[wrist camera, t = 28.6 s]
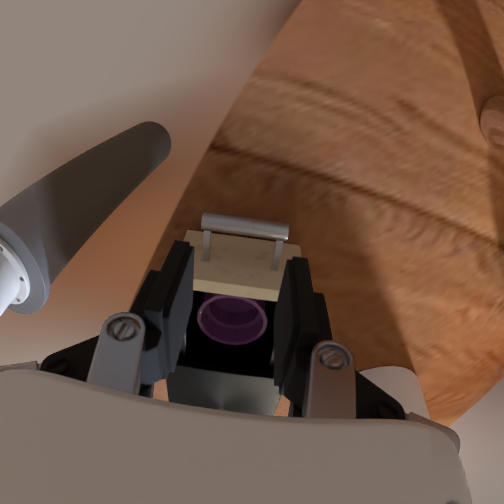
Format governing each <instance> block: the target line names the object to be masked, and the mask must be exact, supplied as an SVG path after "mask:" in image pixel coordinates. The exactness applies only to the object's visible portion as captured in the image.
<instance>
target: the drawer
mask: <svg viewBox="0 0 504 504" xmlns="http://www.w3.org/2000/svg"><path fill="white" fill-rule="evenodd" d="M201 229H203V230H204V232H200V231H193V230H187V233H186V235H185V237H184V239H183V241H186V242H190V246H194V247H195V252H194V279H193V303H192V309H191V312H190V316H189V319H188V323H187V327H186V330H185V334H184V337H183V341H182V345H181V348H180V352H179V360H182V361H188V362H194V363H201V364H207V365H214V366H221V367H228V368H236V369H244V370H253V371H262V372H272V373H274V313H275V308H276V304H277V300H278V295H279V291H280V287H281V283H282V278H283V274H284V270H285V265H286V261H287V259H290V260H292V257H293V256H295V257H301V251H300V245H294V244H287V243H283V242H284V241H286V240H287V238H288V234H289V223H287V222H280V221H273V220H266V219H259V218H252V217H245V216H238V215H230V214H223V213H215V212H207V211H204V212H203V215H202V220H201ZM212 231H218V232H225V233H233V234H240V235H247V236H254V237H262V238H269V239H276V242H273V241H266V240H259V239H252V238H244V237H237V236H230V235H222V234H215V233H212ZM203 292H210V293H217V294H224V295H231V296H238V297H246V298H253V299H261V300H268V322H267V327H266V330H265V332H264V333H263V334H262V335H261V336H260V337H259V338H258V339H256V340H254V341H252V342H250V343H248V344H241V345H230V344H223V343H220V342H218V341H215V340H213V339H211V338H210V337H208V336H207V335H206V334H205V333H204V332H203V331H202V330H201V328H200V326H199V324H198V322H197V311H198V308H199V304H200V300H201V296H202V293H203Z"/></svg>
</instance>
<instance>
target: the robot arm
mask: <svg viewBox="0 0 504 504" xmlns="http://www.w3.org/2000/svg"><path fill="white" fill-rule="evenodd" d="M194 252H195V247H194V246H190V242H186V241H179V240H175V242H174V244H173V246H172V248H171V250H170V252H169V254H168V256H167V258H166V260H165V262H164V264H163V266H162V269H161V271H155V270H150V272H149V273H148V275H147V277H146V279H145V281H144V283H143V285H142V287H141V289H140V291H139V293H138V295H137V297H136V299H135V301H134V303H133V305H132V307H131V309H130V311H129V313H128V312H121V313H117V314H114V315H112V316H110V317H109V318H108V319H107V320H106V321H105V322H104V324H103V326H102V329H101V332H100V335H98V336H96V337H93V338H91V339H89V340H86V341H83V342H81V343H79V344H76V345H73V346H71V347H68V348H66V349H63V350H61V351H58V352H56V353H53V354H51V355H49V356H48V357H46V359H44V360H43V362H42V363H41V364H38V363H37V361H32V362H26V363H19V364H12V365H5V366H0V504H472V500H471V495H470V491H469V487H468V482H467V479H466V475H465V471H464V468H463V465H462V462H461V459H460V456H459V449H460V439H459V437H458V435H457V434H456V432H455V431H454V430H452V429H450V428H448V427H446V426H443V425H441V424H439V423H436V422H434V421H431V420H429V419H427V418H424V417H422V416H420V415H418V414H415V413H413V412H410V413H409V414H407V413H405V411H404V409H403V407H402V405H401V404H400V403H399V402H398V401H397V400H396V399H394V398H393V397H392V396H390V395H389V394H387V393H386V392H385V391H383V390H382V389H381V388H379V387H378V386H377V385H375V384H374V383H372V382H371V381H370V380H368V379H367V378H366V377H364V376H363V375H362V374H360V373H359V372H358V371H356V370H355V359H354V355H353V353H352V351H351V350H350V349H349V348H348V347H347V346H346V345H344V344H342V343H340V342H337V341H334V340H333V339H332V333H331V328H330V323H329V317H328V312H327V307H326V302H325V297H324V294H323V293H316V292H313V287H312V281H311V275H310V270H309V264H308V259H307V258H302V257H295V256H293V257H292V260H290V259H287V261H286V265H285V270H284V274H283V278H282V283H281V287H280V291H279V295H278V300H277V304H276V308H275V313H274V386H279V395H284V396H285V397H286V398H287V399H288V400H290V401H291V403H290V407H289V414H288V417H283V416H270V415H259V414H248V413H239V412H231V411H223V410H216V409H209V408H202V407H196V406H190V405H184V404H178V403H173V402H167V401H162V400H157V399H153V390H154V383H155V382H157V381H159V380H161V379H166V380H167V378H168V374H169V372H174V371H175V367H176V363H177V360H178V356H179V352H180V348H181V345H182V341H183V337H184V334H185V330H186V327H187V323H188V319H189V316H190V312H191V309H192V303H193V279H194ZM29 292H30V281H29V277H28V274H27V271H26V269H25V267H24V265H23V263H22V261H21V259H20V258H19V256H18V255H17V254H16V252H15V251H14V250H13V249H12V248H11V247H10V246H9V245H8V244H7V243H6V242H5V241H3V240H2V239H1V238H0V316H1V315H2V313H3V312H4V311H5V309H6V308H7V307H8V306H9V304H10V303H11V304H20V303H22V302H24V301H25V299H26V298H27V297H28V295H29Z"/></svg>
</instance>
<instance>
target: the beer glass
mask: <svg viewBox="0 0 504 504" xmlns="http://www.w3.org/2000/svg"><path fill="white" fill-rule="evenodd" d="M480 127H481V131H482V134H483V136H484V138H485V140H486V141H487V142H488V143H489V144H490V145H491V146H492V147H494V148H497V149H501V150H504V96H502V95H494V96H492V97H490V98H489V99H487V101H486V102H485V103H484V105H483V107H482V110H481V114H480Z"/></svg>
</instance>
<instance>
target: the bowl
mask: <svg viewBox="0 0 504 504" xmlns="http://www.w3.org/2000/svg"><path fill="white" fill-rule="evenodd" d="M197 322H198V324H199V326H200V328H201V330H202V331H203V332H204V333H205V334H206V335H207V336H208V337H210V338H211V339H213V340H215V341H218V342H220V343H223V344H230V345H241V344H248V343H250V342H252V341H254V340H256V339H258V338H259V337H260V336H261V335H262V334H263V333H264V332H265V330H266V327H267V322H268V300H261V299H253V298H246V297H238V296H231V295H224V294H217V293H210V292H203V293H202V296H201V300H200V304H199V308H198V311H197Z"/></svg>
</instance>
